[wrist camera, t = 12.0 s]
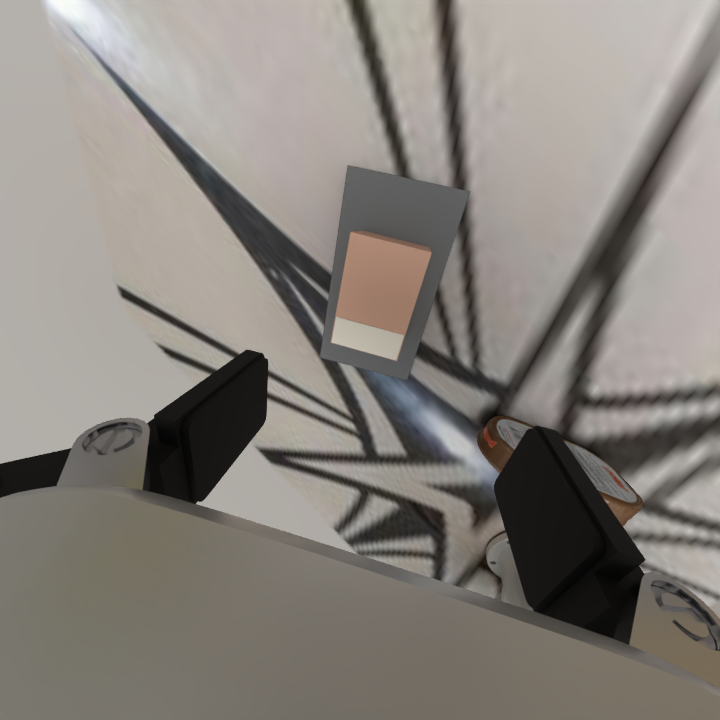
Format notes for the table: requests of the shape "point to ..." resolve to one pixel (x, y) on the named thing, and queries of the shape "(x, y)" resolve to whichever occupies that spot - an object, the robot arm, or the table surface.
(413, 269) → the block
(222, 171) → the table surface
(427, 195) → the mat
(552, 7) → the table surface
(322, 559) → the robot arm
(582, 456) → the tin
